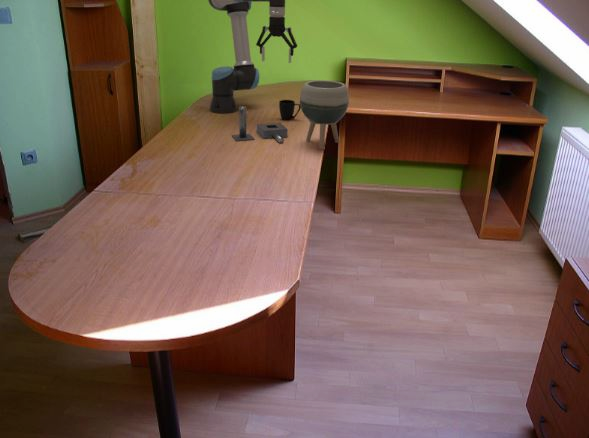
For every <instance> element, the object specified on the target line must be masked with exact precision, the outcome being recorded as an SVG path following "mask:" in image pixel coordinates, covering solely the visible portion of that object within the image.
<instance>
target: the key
mask: <svg viewBox="0 0 589 438" xmlns="http://www.w3.org/2000/svg"><path fill="white" fill-rule="evenodd" d="M238 123H239V125H238V129H239V130H238V132H239V133H238V134H239V137H240V138H246V137H247V134H248V133H247V106H246V105H239V106H238Z"/></svg>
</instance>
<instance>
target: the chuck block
mask: <svg viewBox="0 0 589 438" xmlns="http://www.w3.org/2000/svg"><path fill="white" fill-rule="evenodd" d="M256 133H257V134H258V135H259V136H260V137H261V138H262V139H264V140H266V139H267V140H268V139H275V140H276V141H277V142H278V143H279V144H283V143H284V142H285V140H284V138H288V128H287V127H286V126H284V124H282V123H281V122H271V123H270V122H268V123H267V122H266V123H256Z"/></svg>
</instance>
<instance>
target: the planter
mask: <svg viewBox="0 0 589 438" xmlns="http://www.w3.org/2000/svg"><path fill="white" fill-rule="evenodd" d="M299 104H300V106H301V108H300V110H301V112H302V114H303V116H305V118H306V119H307V120H308V121H309V127H308V132H307V135H306V139H305V140H306V142H310V141H311V138H312V135H313V133H314V130H315V126H316V125H319V145H318V147H319V150H321V151H322V150H324V149H325V140H326V139H325V137H326V127H327V125H330V126H331V127H330V128H331V131H332V135H333V138H334V139H333V140H334V143H340V138H339V134H338V127H337V123H338V122H339V121H341V120H342V118H344V116H345V114H346V113H347V110H348V108H349V105H350V94H349V89H348V87H347V86H346V84H345V83H343V82H340V81H335V80H323V79H322V80H320V79H319V80H310V81H306V82H305V83H304V84H303V86H302V88H301V90H300V94H299Z"/></svg>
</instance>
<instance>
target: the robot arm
mask: <svg viewBox="0 0 589 438" xmlns="http://www.w3.org/2000/svg"><path fill="white" fill-rule="evenodd" d="M207 2H208V4H209V5H210V7H211V8H213V9H215V10H216V11H220V12H221V11H222V12H223V11H224V12H226V14H227V16H228V17H229V18H230V24H231V31H232V33H231V34H232V40H233V49H234V51H233V52H234V57H235V58H234V59H235V64H233V66H220V67H216V68H214V69H213V70H212V71H211V85H212V86H211V87H212V97H211V100H210V104H209V111H210V112H212V113H215V114H217V113H218V114H230V113H235V112H237V111H238V106H237V103H236V99H235V97H234V96H235V95H234V92H235V91H245V90H253V89H256V88H257V87H258V86H259V83H260V72H259V68H257V67H255V64H254V62H252V58H251V50H250V49H251V47H250V39H249V32H248V31H249V30H248V21H247V16H248V15H249V11H250V10H251V8H252V2H253V3H254V2H259V3H260V2H261V3H262V2H264V3H267V2H268V3H269V5H268V6H269V7H268V8H269V10H268V15H269V17H268V18H269V19H268V22H269V23H268V24H269V25H268V26H266V25H264V26H262V29H261V33H260V35H259V38H258V39H257V42H256V43H255V45H256V47H259V54H260V55H261V62H264V61H266V59H265V58H266V57H265V54H266V52H265V50H266V49H265V45H266V43H267V42H268V41H269V40H270V38H271V37H274V38H275V37H279V38H280V37H281V38H282V39H283V40H284V42H285V43H286V44H287V45H288V47H289V49H288V64H291V63H292V57H293V56H294V52H295V51H294V49H296V48H297V47H298V43H297V41H296V39H295V37H294V34H293V32H292V27H286V25H285V23H286V17H285V16H286V0H207ZM267 31H268V32H269V34H267V36H266V37H265V38H264V36H265V35H266V32H267ZM285 33H287V34H288V36H289V38H290V40H291V41H290V40H289V38H288V37H287V36H286V34H285ZM263 39H264V40H263ZM262 40H263V41H262Z"/></svg>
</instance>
